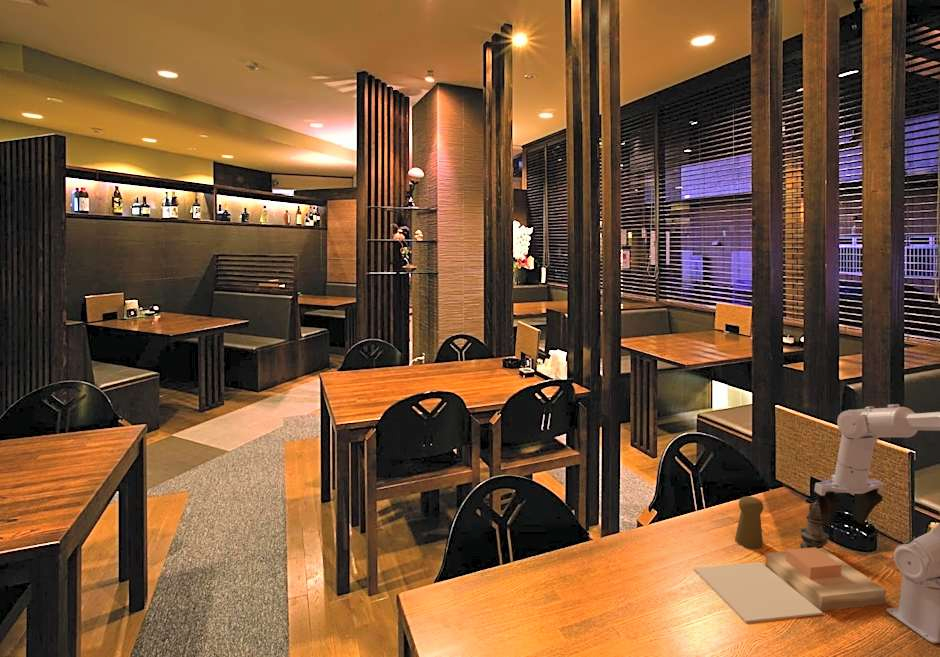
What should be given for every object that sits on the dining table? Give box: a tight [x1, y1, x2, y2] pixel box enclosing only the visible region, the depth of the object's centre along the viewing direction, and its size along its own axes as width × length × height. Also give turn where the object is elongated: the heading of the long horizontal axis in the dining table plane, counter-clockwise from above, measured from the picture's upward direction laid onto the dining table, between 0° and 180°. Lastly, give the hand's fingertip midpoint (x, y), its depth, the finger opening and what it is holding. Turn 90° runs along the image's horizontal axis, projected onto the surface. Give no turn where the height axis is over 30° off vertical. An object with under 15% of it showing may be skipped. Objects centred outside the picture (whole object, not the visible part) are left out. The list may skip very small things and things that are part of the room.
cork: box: [734, 496, 764, 550], centre depth 132 cm, size 6×6×11 cm
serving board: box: [764, 547, 887, 612], centre depth 115 cm, size 16×14×3 cm
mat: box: [693, 561, 824, 624], centre depth 113 cm, size 18×16×1 cm
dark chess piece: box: [799, 499, 830, 550], centre depth 129 cm, size 6×6×12 cm
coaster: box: [785, 547, 842, 579], centre depth 116 cm, size 7×7×2 cm
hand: (842, 522), depth 118 cm, fingers open, 7 cm apart
